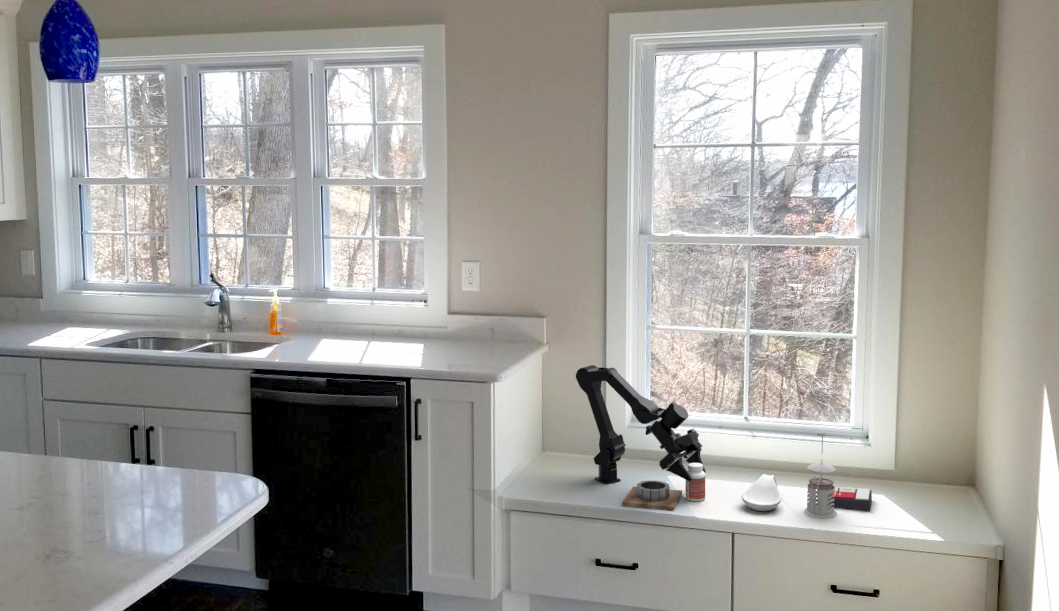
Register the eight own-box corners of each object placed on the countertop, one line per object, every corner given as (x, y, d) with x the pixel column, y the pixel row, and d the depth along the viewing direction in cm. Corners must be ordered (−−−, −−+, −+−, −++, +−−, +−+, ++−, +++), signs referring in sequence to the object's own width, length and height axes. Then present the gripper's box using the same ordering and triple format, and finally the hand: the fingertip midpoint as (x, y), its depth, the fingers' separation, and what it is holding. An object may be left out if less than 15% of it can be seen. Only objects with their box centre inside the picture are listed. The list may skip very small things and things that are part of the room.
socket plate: (622, 505, 302) (622, 502, 301) (633, 489, 317) (633, 486, 317) (674, 510, 297) (674, 506, 297) (682, 494, 312) (682, 490, 312)
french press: (841, 510, 295) (843, 430, 292) (830, 522, 285) (833, 439, 282) (808, 505, 300) (810, 425, 297) (797, 516, 290) (799, 434, 287)
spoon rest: (778, 517, 291) (778, 494, 290) (738, 512, 295) (738, 489, 294) (787, 493, 313) (788, 471, 312) (750, 489, 317) (751, 467, 316)
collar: (630, 494, 308) (630, 483, 308) (656, 489, 313) (656, 478, 313) (649, 503, 300) (649, 492, 299) (675, 497, 305) (675, 487, 304)
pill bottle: (709, 499, 306) (709, 465, 305) (694, 503, 303) (695, 468, 302) (695, 494, 312) (696, 460, 310) (681, 498, 308) (681, 463, 307)
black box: (821, 484, 309) (871, 487, 303) (821, 498, 309) (871, 500, 304) (818, 495, 299) (869, 498, 293) (818, 509, 299) (870, 512, 294)
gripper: (667, 428, 300) (700, 469, 294) (696, 416, 314) (727, 455, 309) (645, 449, 306) (676, 490, 300) (675, 436, 320) (705, 474, 315)
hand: (697, 476), depth 306 cm, fingers open, 9 cm apart
